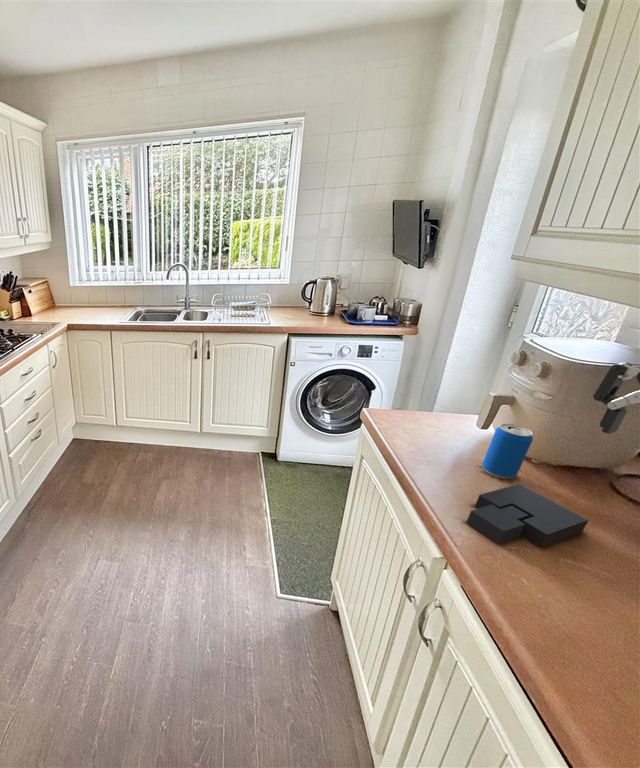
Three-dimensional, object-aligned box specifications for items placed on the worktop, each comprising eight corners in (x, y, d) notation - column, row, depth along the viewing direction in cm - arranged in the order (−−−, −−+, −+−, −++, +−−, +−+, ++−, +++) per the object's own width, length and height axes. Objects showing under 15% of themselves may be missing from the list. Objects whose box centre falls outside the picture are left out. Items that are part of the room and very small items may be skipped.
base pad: (513, 495, 90) (518, 483, 89) (581, 532, 80) (589, 520, 78) (474, 506, 87) (479, 494, 86) (540, 547, 76) (547, 534, 75)
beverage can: (509, 468, 99) (528, 425, 94) (520, 483, 94) (540, 439, 89) (477, 462, 102) (493, 420, 97) (485, 476, 96) (503, 433, 92)
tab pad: (498, 512, 85) (503, 500, 84) (531, 532, 80) (537, 520, 79) (465, 522, 83) (470, 510, 81) (497, 544, 77) (503, 531, 76)
